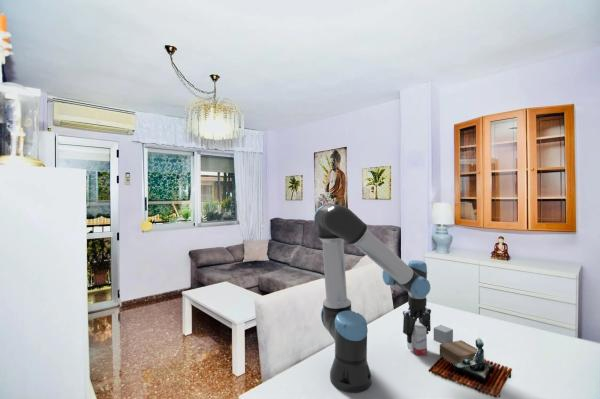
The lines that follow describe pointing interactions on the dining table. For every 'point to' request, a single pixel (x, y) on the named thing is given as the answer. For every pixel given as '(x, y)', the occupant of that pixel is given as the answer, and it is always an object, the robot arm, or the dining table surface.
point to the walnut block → (457, 351)
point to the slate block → (443, 334)
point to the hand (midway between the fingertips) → (416, 348)
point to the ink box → (420, 339)
